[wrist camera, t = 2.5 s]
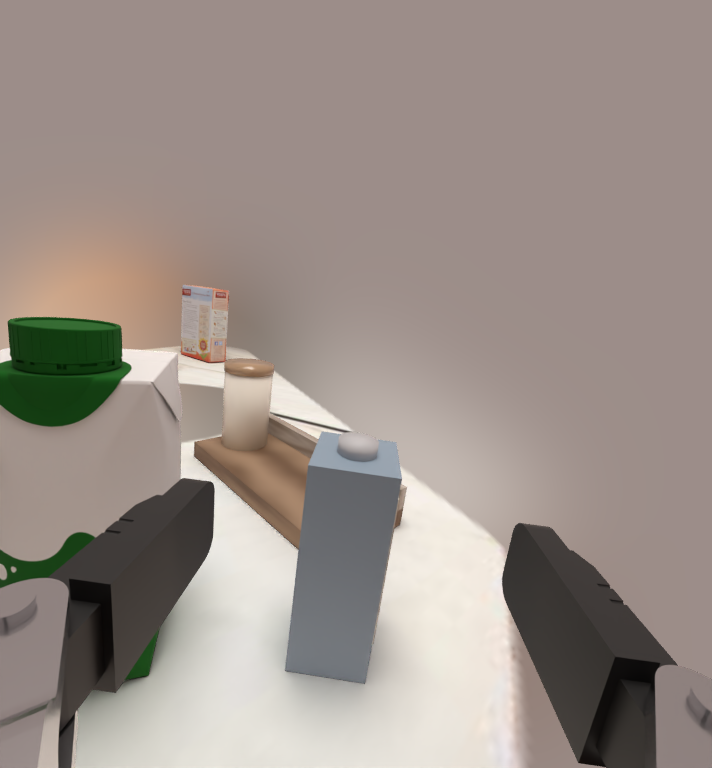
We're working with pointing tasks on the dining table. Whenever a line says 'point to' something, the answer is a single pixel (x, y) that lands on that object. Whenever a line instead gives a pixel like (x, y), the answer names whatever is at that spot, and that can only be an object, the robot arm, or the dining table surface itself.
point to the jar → (246, 403)
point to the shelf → (270, 475)
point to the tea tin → (343, 554)
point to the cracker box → (204, 323)
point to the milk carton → (79, 441)
